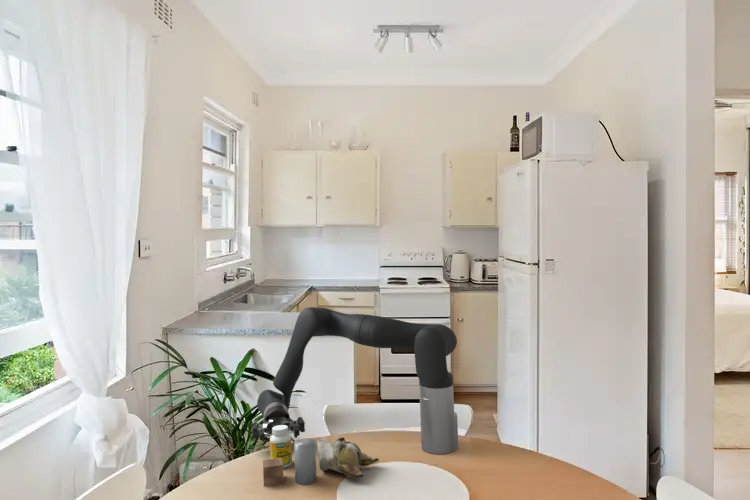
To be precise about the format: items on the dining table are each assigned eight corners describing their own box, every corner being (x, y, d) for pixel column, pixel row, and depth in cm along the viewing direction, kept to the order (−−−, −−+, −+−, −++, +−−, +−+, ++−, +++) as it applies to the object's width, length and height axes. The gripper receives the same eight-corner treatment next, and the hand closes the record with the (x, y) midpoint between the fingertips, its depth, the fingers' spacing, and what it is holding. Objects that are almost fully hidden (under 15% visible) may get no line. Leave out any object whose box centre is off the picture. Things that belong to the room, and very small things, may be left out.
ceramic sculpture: (327, 426, 130) (380, 435, 124) (326, 459, 130) (379, 470, 124) (306, 440, 120) (363, 451, 114) (306, 476, 120) (362, 489, 114)
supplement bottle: (286, 458, 131) (285, 422, 131) (295, 465, 127) (294, 427, 127) (267, 464, 128) (266, 426, 128) (275, 471, 124) (274, 432, 124)
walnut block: (282, 476, 121) (281, 457, 121) (283, 484, 117) (283, 464, 117) (263, 478, 120) (262, 460, 120) (263, 487, 115) (263, 467, 116)
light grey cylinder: (314, 474, 121) (313, 437, 121) (317, 483, 116) (316, 444, 117) (294, 477, 120) (293, 439, 120) (296, 486, 115) (295, 447, 115)
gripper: (251, 407, 146) (251, 424, 130) (300, 402, 149) (306, 418, 134) (252, 433, 146) (252, 453, 130) (301, 427, 149) (307, 446, 134)
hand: (279, 436), depth 132 cm, fingers open, 8 cm apart
